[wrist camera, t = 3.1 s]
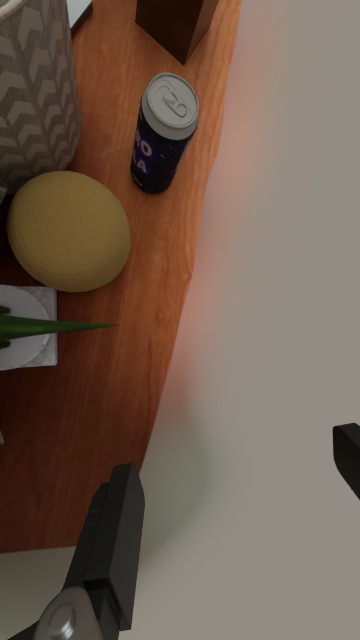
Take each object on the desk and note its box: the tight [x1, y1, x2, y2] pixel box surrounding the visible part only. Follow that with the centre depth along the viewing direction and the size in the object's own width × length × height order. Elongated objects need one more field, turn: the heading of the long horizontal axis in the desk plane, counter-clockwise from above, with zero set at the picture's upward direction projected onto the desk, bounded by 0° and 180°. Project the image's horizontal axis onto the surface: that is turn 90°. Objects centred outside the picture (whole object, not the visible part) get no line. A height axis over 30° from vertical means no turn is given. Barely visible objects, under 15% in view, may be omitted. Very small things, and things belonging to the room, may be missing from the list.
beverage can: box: [131, 73, 199, 193], centre depth 28 cm, size 6×6×12 cm
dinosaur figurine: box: [0, 284, 118, 370], centre depth 24 cm, size 9×20×12 cm, turn 91°
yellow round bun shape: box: [6, 171, 131, 292], centre depth 26 cm, size 12×12×10 cm
